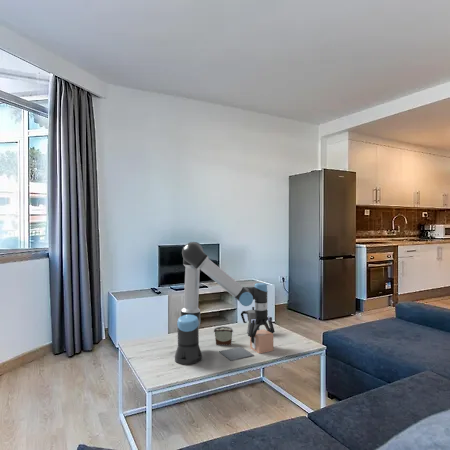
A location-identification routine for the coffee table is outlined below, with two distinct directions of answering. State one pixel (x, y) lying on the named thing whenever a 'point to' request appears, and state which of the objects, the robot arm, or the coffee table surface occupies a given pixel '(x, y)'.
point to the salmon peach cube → (263, 341)
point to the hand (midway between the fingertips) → (261, 346)
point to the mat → (236, 353)
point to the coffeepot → (249, 317)
